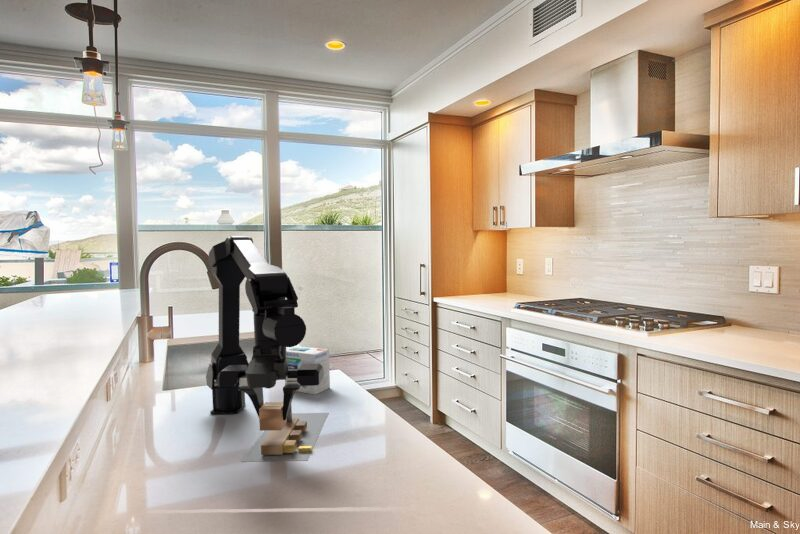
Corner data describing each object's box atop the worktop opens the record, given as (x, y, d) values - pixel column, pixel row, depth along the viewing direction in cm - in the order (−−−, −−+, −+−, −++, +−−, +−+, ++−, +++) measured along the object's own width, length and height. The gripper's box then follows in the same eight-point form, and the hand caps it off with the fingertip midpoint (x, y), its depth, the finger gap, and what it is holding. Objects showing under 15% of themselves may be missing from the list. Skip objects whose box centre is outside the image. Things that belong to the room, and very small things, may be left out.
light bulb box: (284, 390, 137) (282, 350, 136) (300, 383, 143) (298, 345, 142) (316, 394, 132) (314, 354, 131) (331, 387, 138) (329, 348, 137)
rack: (261, 454, 94) (260, 424, 93) (280, 426, 108) (279, 399, 107) (293, 454, 94) (292, 423, 93) (308, 426, 108) (307, 399, 107)
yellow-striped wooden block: (259, 430, 93) (258, 409, 93) (266, 422, 97) (265, 401, 97) (281, 430, 93) (280, 408, 93) (286, 422, 97) (286, 401, 97)
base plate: (241, 463, 92) (241, 461, 92) (277, 415, 117) (277, 413, 117) (307, 462, 92) (307, 460, 92) (328, 414, 117) (328, 412, 117)
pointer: (298, 452, 95) (298, 448, 95) (299, 450, 96) (299, 446, 96) (311, 452, 95) (310, 448, 95) (312, 450, 96) (311, 445, 96)
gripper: (203, 348, 87) (207, 437, 87) (311, 346, 86) (314, 435, 87) (226, 335, 98) (230, 414, 99) (322, 334, 97) (325, 413, 98)
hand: (273, 419), depth 95 cm, fingers closed on yellow-striped wooden block, 4 cm apart
